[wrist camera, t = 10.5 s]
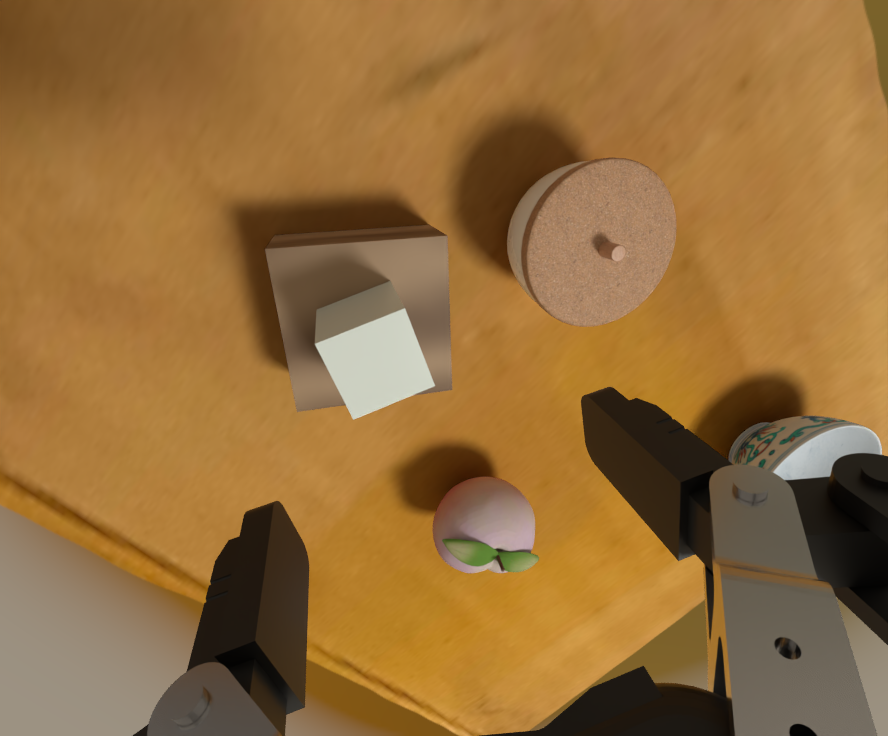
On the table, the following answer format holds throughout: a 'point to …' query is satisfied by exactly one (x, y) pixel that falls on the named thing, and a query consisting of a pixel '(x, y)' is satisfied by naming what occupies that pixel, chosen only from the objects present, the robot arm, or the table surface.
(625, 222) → the lidded jar
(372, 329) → the off-white cube
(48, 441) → the table surface
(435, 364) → the walnut block
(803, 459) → the chinaware
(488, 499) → the decorative fruit
